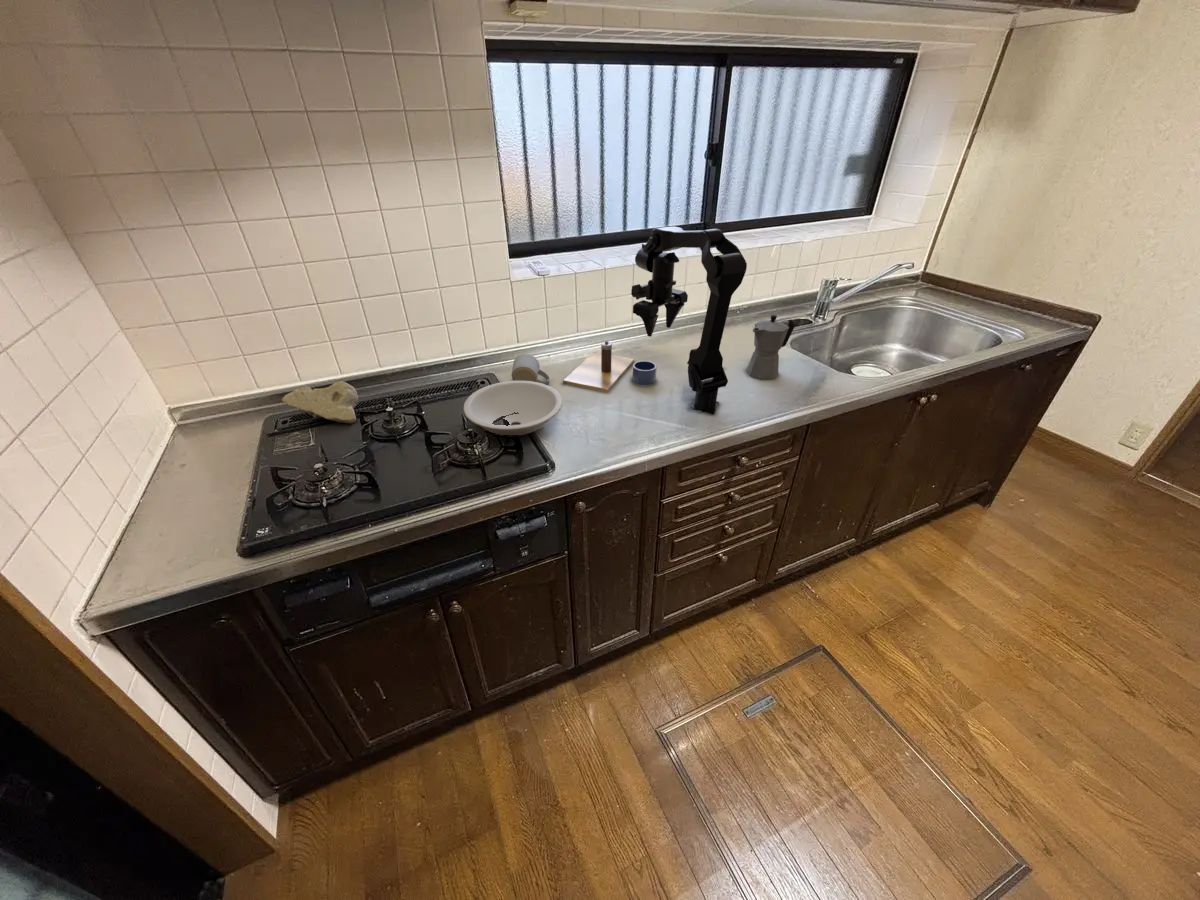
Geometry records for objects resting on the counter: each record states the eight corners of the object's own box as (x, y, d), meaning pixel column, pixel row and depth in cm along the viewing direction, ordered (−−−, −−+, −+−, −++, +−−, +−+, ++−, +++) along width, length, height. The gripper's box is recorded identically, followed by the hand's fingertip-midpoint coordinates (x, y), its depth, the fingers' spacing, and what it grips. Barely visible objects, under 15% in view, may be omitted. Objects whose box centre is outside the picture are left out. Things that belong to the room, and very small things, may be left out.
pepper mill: (609, 373, 148) (609, 343, 143) (599, 371, 149) (599, 342, 144) (612, 369, 151) (613, 339, 145) (603, 367, 152) (603, 338, 146)
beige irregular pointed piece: (376, 417, 134) (343, 373, 134) (370, 409, 127) (335, 363, 127) (324, 450, 129) (289, 404, 129) (314, 444, 122) (278, 396, 122)
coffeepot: (755, 384, 146) (767, 324, 135) (734, 371, 152) (744, 313, 142) (795, 373, 151) (809, 315, 141) (773, 361, 158) (785, 305, 148)
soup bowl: (582, 425, 126) (582, 403, 123) (504, 465, 113) (501, 440, 109) (525, 393, 141) (523, 371, 137) (449, 424, 127) (444, 401, 123)
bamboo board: (607, 393, 141) (607, 389, 140) (563, 384, 145) (563, 380, 145) (634, 362, 157) (634, 358, 157) (593, 355, 162) (593, 351, 161)
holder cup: (651, 388, 143) (652, 372, 140) (628, 383, 145) (629, 368, 143) (658, 378, 148) (659, 362, 145) (636, 374, 151) (637, 359, 148)
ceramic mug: (512, 390, 142) (509, 365, 138) (514, 377, 149) (512, 353, 144) (549, 389, 143) (548, 365, 138) (550, 376, 149) (549, 352, 145)
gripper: (659, 265, 146) (655, 317, 155) (618, 278, 134) (617, 333, 143) (691, 271, 140) (685, 325, 149) (651, 286, 128) (648, 343, 137)
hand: (658, 331), depth 145 cm, fingers open, 9 cm apart
